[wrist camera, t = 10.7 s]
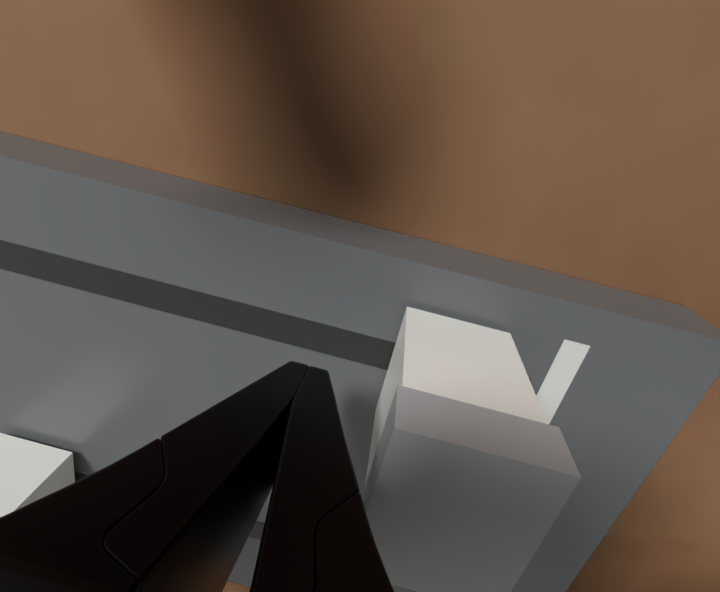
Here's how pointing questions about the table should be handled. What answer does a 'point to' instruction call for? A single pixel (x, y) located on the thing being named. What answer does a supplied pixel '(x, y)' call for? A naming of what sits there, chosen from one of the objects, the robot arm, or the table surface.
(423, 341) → the grey fader
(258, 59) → the table surface
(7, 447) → the orange fader
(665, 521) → the table surface
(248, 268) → the console
